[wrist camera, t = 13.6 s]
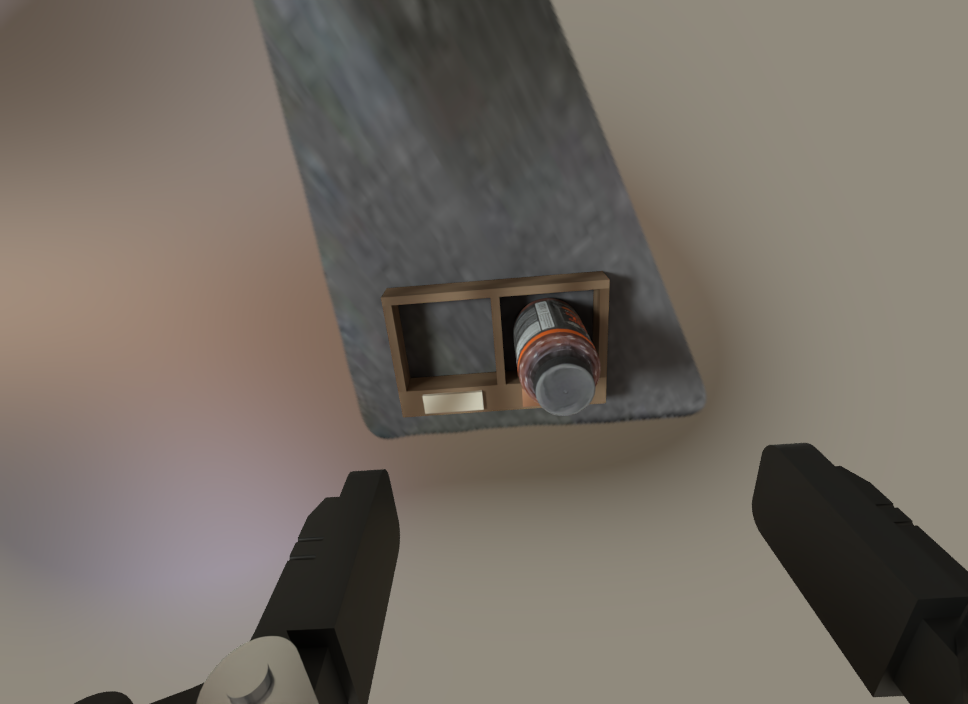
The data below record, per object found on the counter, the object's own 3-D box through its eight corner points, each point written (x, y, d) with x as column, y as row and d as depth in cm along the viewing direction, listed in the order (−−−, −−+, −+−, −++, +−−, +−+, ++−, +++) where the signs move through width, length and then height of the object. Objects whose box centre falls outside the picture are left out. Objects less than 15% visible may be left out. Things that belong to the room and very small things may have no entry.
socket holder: (602, 270, 39) (610, 280, 36) (599, 389, 44) (606, 405, 41) (386, 288, 40) (380, 299, 37) (407, 402, 44) (402, 419, 42)
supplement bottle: (593, 329, 41) (630, 395, 31) (541, 370, 43) (559, 445, 33) (551, 281, 39) (574, 333, 29) (498, 325, 41) (502, 390, 31)
